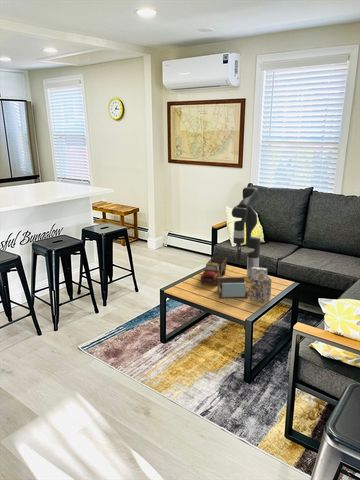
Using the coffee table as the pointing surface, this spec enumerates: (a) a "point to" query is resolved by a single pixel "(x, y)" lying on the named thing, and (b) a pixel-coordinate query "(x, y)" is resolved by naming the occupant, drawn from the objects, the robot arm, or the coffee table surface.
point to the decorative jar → (260, 288)
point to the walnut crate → (230, 280)
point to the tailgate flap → (233, 289)
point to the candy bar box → (258, 271)
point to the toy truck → (213, 270)
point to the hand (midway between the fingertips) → (238, 258)
